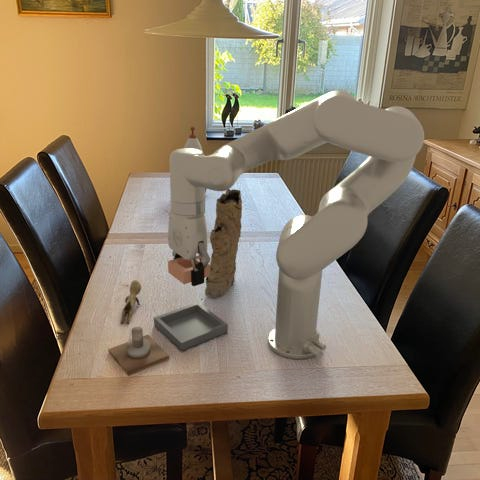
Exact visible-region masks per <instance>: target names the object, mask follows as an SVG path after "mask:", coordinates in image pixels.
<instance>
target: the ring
mask: <svg viewBox="0 0 480 480" xmlns="http://www.w3.org/2000/svg"><path fill="white" fill-rule="evenodd" d="M195 260H196V264H198V263H199V262H200V260H199V259H195ZM191 270H193V267H192V263H191V260H190V261H189V260H186V259H185V258H183V257H180V258H177V259H174V258H173V259H171V260H168V261H167V271H168V274H170V275H171V276H172V277H174V278H175V279H176V280H177V281H179V282H180V283H182V284H183V285H186V284H189V283H191ZM209 276H210V263H208V265H207V266H206V268H205V269H204V279H206V278H207V277H209Z"/></svg>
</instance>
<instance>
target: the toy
mask: <svg viewBox="0 0 480 480" xmlns="http://www.w3.org/2000/svg"><path fill="white" fill-rule="evenodd" d="M195 129H196V128H195V126H191V127H190V131H191V134H190V135H189V136H188V139H187V140H186V142H185V145H184V146H183V148H192V149H197V150H200V151H202V152H203V153H204V150H203V148H202V145H201V142H200V141H199V139H198V138H197V136H196V134H195V132H194V131H195ZM206 192H207V189H206V188H205V193H206Z"/></svg>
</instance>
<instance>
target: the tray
mask: <svg viewBox="0 0 480 480" xmlns="http://www.w3.org/2000/svg"><path fill="white" fill-rule="evenodd" d="M153 325H154V328H155V329H156V330H157V331H159V333H161V334H162V335H163V336H164V337H165V338H166V339H167V340H168V341H169V342H170V343H171V344H172V345H173V344H174V345H175V346H176V347H177V348H176V347H175V346H174V345H173V346H174V347H175V348H176V349H177V350H179V351H180V352H181V353H184V352H187V351H188V349H189V350H191V349H194V348H196V347H198V345H199V346H200V345H203V343H204V344H206V343H208V342H211V341H213V340H216V339H218V338H220V336H221V337H223V336H225V335H227V334H228V333H229V332H228V329H229V323H227V322H225V321H224V320H222V318H220V317H219V316H217V315H216V314H215V313H213V312H212V311H211V310H210V309H208V308H207V307H205V306H204V305H203V304H202V303H200V302H199V301H197V302H194V303H191V304H189V305H186V306H183V307H181V308H180V307H179V308H177V309H174V310H171V311H169V312H166V313H163V314H160V315H157V316H154V317H153ZM222 335H223V336H222ZM215 338H216V339H215ZM210 340H211V341H210ZM193 347H194V348H193ZM190 348H191V349H190Z"/></svg>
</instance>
